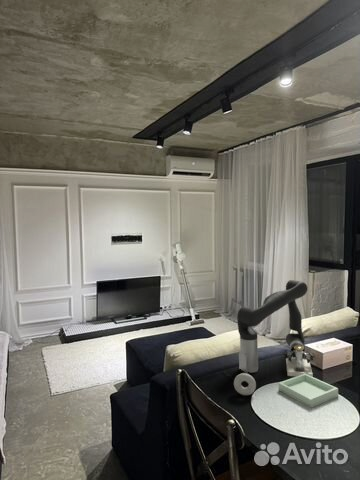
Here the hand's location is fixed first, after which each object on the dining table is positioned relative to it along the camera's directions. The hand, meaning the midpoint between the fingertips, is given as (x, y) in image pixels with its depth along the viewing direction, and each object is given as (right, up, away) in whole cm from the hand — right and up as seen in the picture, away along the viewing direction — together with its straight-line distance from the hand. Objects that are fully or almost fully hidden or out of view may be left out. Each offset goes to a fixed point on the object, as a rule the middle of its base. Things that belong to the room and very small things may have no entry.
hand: (299, 360), depth 167 cm
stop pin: (+1, -7, +2) cm, 8 cm away
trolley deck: (+3, -7, +9) cm, 12 cm away
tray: (-3, -8, -18) cm, 20 cm away
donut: (-31, -9, -18) cm, 38 cm away
